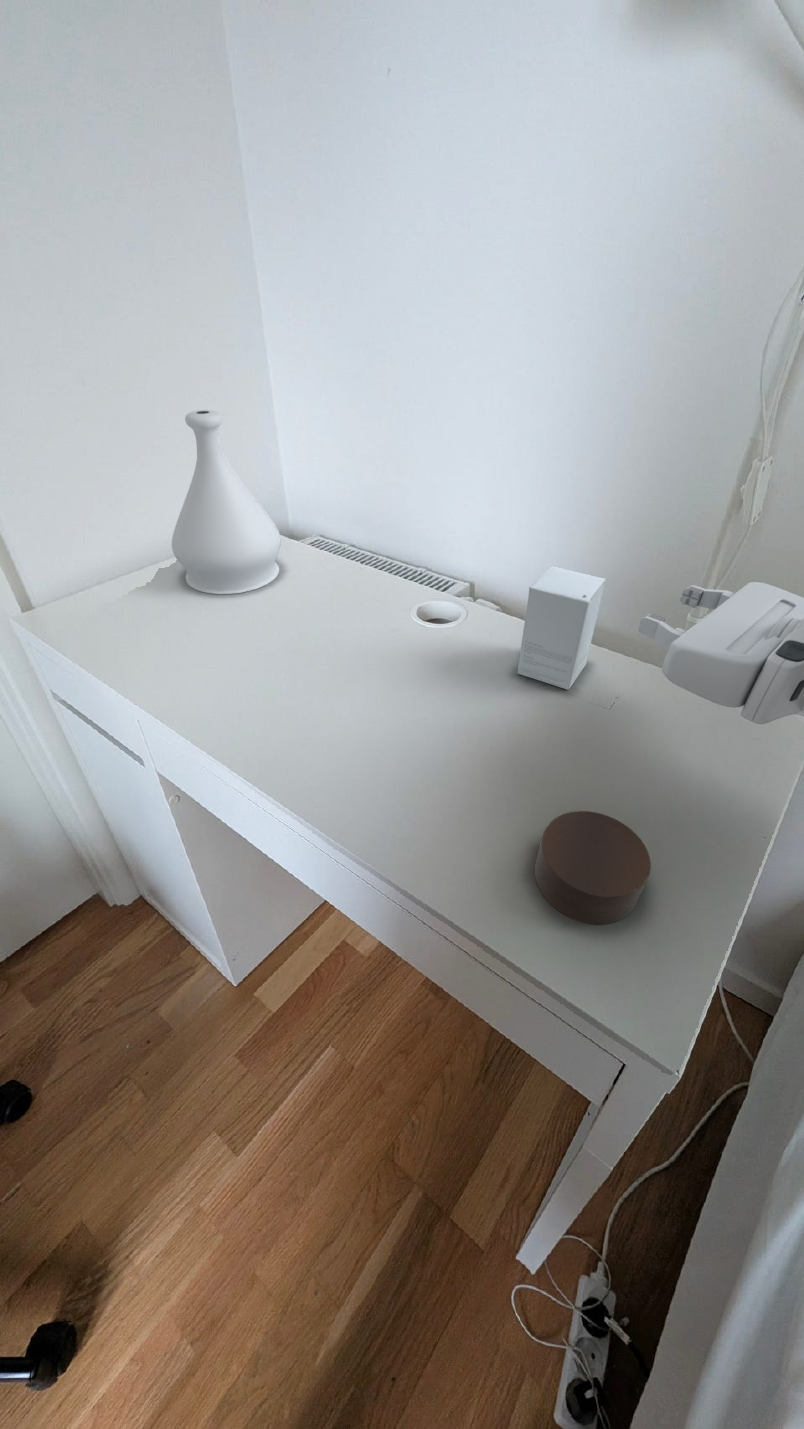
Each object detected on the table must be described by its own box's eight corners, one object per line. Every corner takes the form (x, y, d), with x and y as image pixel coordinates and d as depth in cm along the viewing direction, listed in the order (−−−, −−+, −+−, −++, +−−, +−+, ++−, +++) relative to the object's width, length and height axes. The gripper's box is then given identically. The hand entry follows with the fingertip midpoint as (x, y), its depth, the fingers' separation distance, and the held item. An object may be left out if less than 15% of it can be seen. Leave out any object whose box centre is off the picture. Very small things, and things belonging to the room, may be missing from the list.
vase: (165, 568, 100) (122, 408, 85) (257, 544, 109) (234, 395, 93) (203, 607, 90) (162, 433, 74) (302, 578, 98) (285, 415, 82)
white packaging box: (587, 664, 78) (609, 578, 70) (568, 692, 73) (589, 602, 65) (536, 648, 81) (551, 564, 73) (514, 673, 76) (528, 586, 68)
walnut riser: (641, 856, 54) (654, 828, 51) (633, 940, 47) (647, 912, 45) (545, 827, 56) (552, 799, 54) (524, 903, 50) (531, 875, 47)
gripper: (854, 594, 57) (716, 552, 65) (782, 673, 46) (624, 611, 54) (824, 648, 61) (697, 602, 69) (750, 733, 50) (608, 667, 58)
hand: (664, 606), depth 61 cm, fingers open, 8 cm apart
